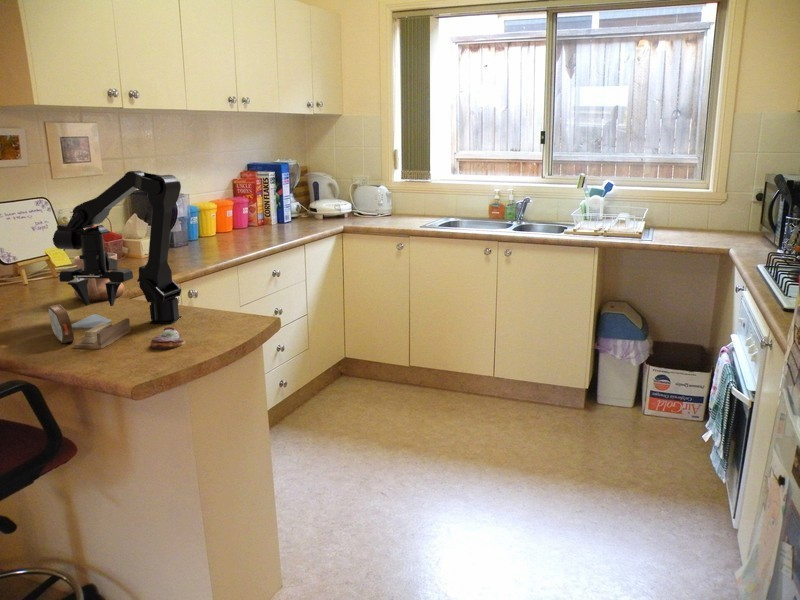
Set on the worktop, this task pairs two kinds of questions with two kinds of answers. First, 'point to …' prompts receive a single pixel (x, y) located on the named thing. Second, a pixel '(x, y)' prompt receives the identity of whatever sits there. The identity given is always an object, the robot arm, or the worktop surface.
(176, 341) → the pastry
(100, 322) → the slate mat
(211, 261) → the worktop surface
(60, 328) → the tin
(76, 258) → the ceramic jug
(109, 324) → the offcut upper
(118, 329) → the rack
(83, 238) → the robot arm
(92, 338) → the offcut lower
